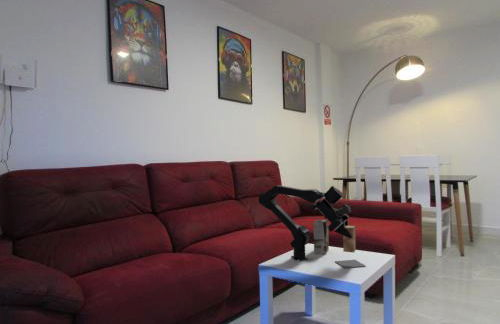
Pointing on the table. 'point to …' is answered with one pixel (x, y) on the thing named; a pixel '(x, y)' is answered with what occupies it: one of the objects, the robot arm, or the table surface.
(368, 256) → the table surface
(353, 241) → the walnut block
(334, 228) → the robot arm
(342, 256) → the table surface
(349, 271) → the table surface
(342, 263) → the mat
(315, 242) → the coffee box
